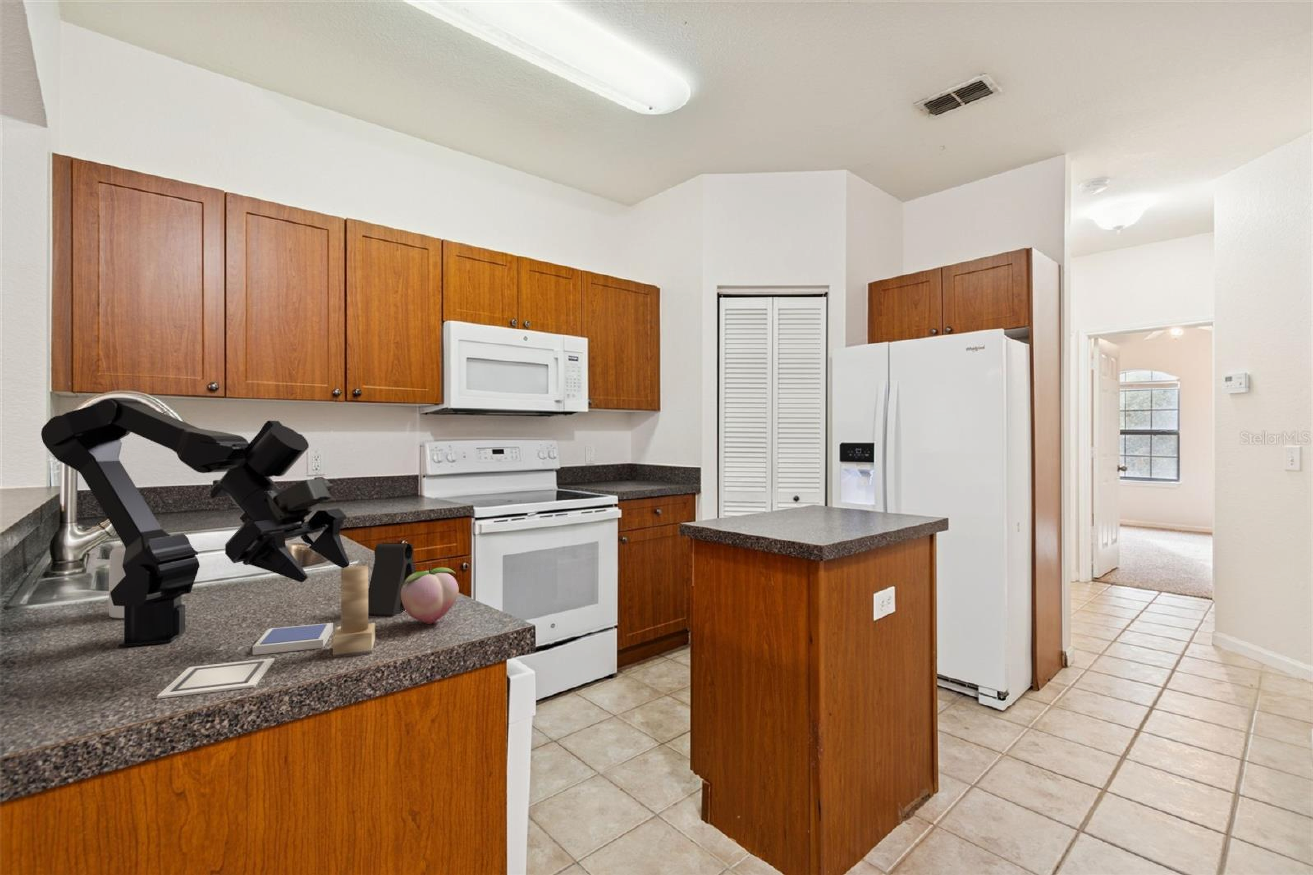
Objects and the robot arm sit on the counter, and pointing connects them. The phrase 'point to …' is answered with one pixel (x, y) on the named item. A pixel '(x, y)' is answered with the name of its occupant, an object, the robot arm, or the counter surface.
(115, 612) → the pill bottle
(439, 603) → the decorative fruit
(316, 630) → the ink pad
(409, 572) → the phone stand
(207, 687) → the card
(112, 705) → the counter surface
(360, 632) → the stamp
